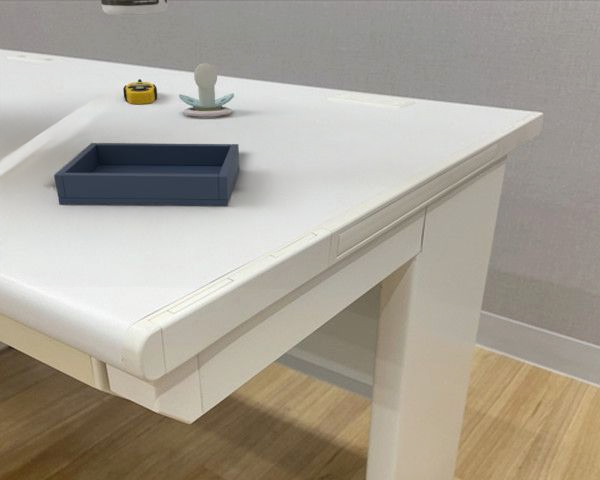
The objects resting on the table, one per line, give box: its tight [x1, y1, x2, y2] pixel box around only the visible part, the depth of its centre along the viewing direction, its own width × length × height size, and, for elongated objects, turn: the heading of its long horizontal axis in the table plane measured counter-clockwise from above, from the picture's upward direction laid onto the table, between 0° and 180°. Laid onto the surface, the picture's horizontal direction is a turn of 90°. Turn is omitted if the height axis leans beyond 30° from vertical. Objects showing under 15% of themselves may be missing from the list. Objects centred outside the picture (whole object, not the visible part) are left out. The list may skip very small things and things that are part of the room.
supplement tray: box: [53, 142, 240, 207], centre depth 58 cm, size 14×10×3 cm
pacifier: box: [178, 62, 235, 117], centre depth 84 cm, size 7×6×6 cm
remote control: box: [122, 78, 158, 105], centre depth 96 cm, size 5×2×15 cm
